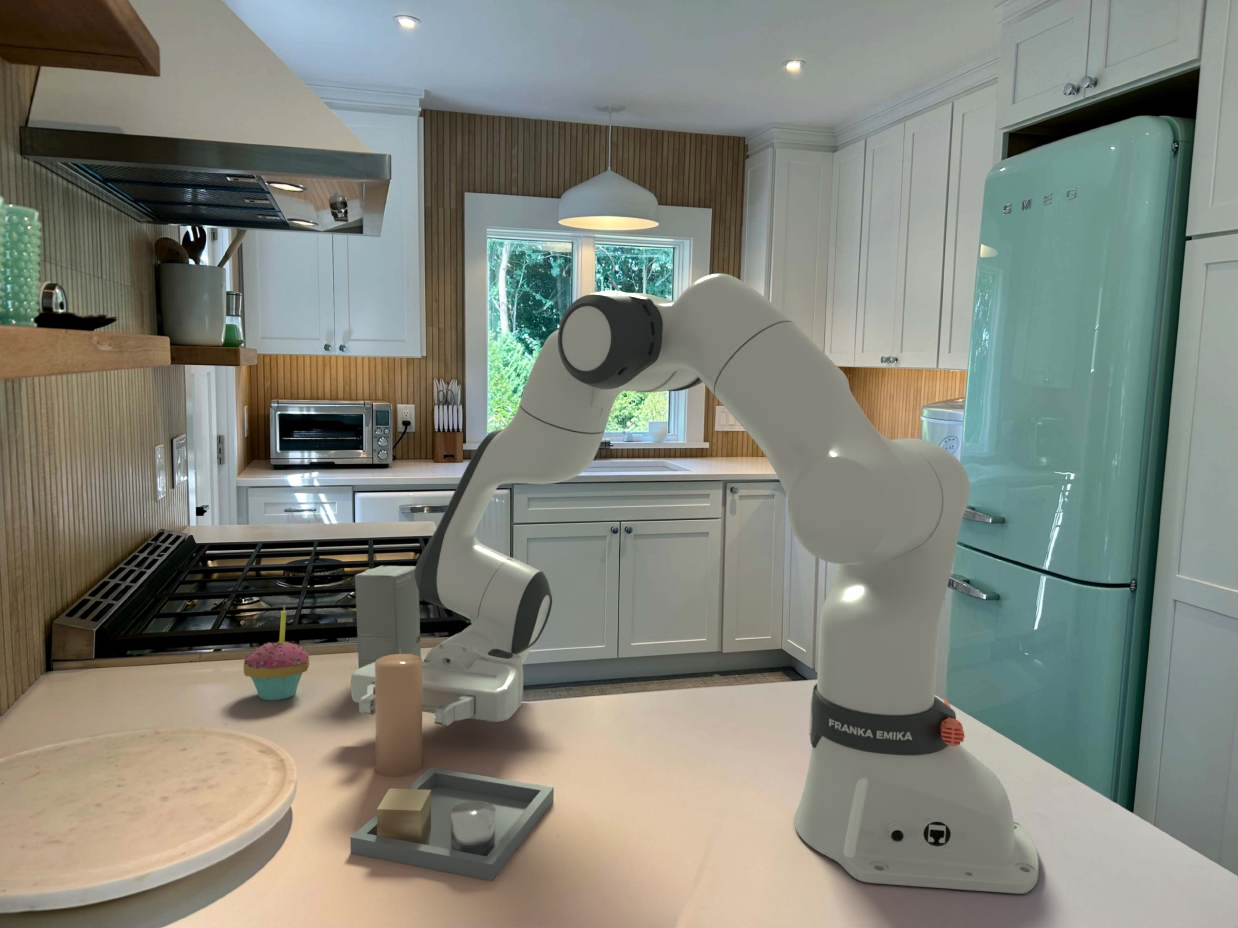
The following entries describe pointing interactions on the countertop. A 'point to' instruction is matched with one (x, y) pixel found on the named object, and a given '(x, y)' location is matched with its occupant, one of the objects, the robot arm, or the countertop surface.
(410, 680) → the canister
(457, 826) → the part metal
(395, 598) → the skincare box
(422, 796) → the part oak
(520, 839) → the parts tray
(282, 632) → the cupcake
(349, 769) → the countertop surface
